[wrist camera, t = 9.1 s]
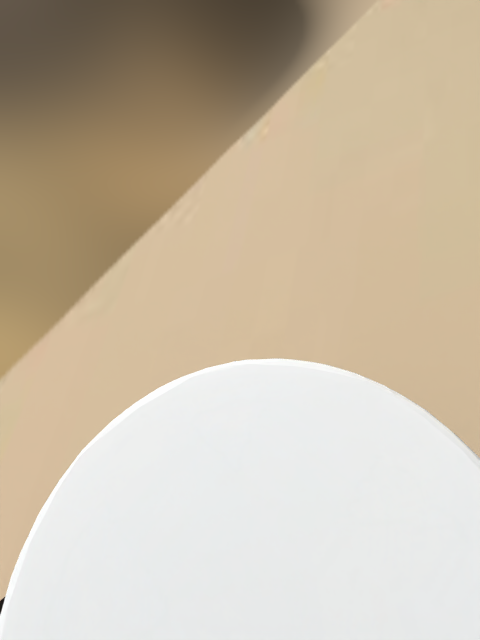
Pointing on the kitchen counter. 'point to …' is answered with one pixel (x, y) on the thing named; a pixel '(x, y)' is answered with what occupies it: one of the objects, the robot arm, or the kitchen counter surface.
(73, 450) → the kitchen counter surface
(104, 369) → the kitchen counter surface
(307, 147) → the kitchen counter surface
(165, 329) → the kitchen counter surface
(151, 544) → the pill bottle
